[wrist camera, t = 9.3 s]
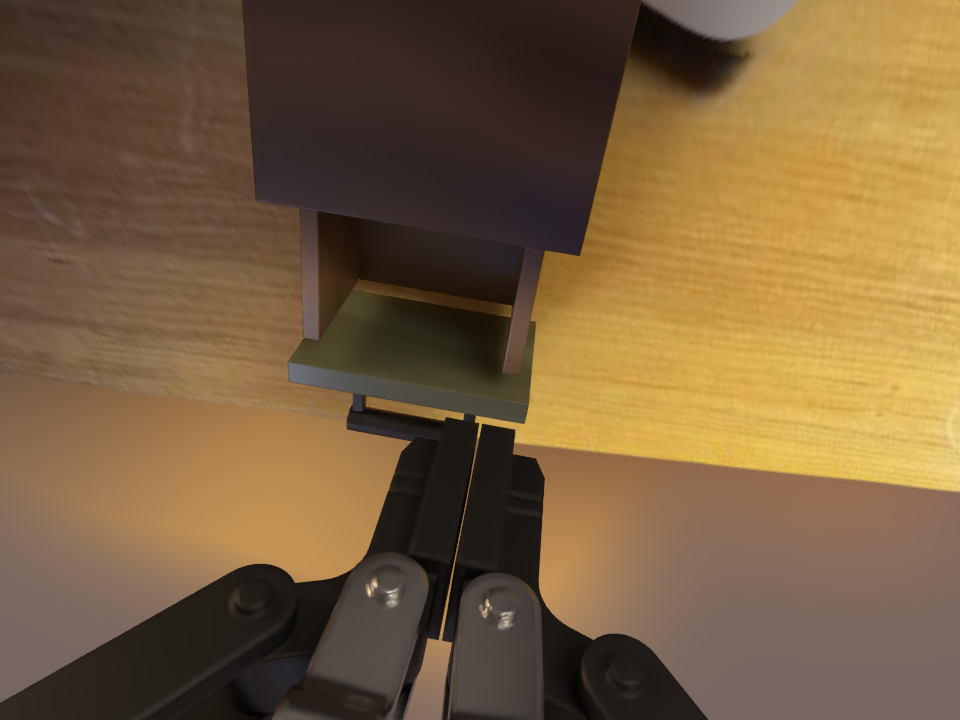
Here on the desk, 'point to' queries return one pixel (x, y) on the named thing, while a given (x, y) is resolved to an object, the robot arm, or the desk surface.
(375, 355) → the drawer
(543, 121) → the cabinet
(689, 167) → the desk surface
